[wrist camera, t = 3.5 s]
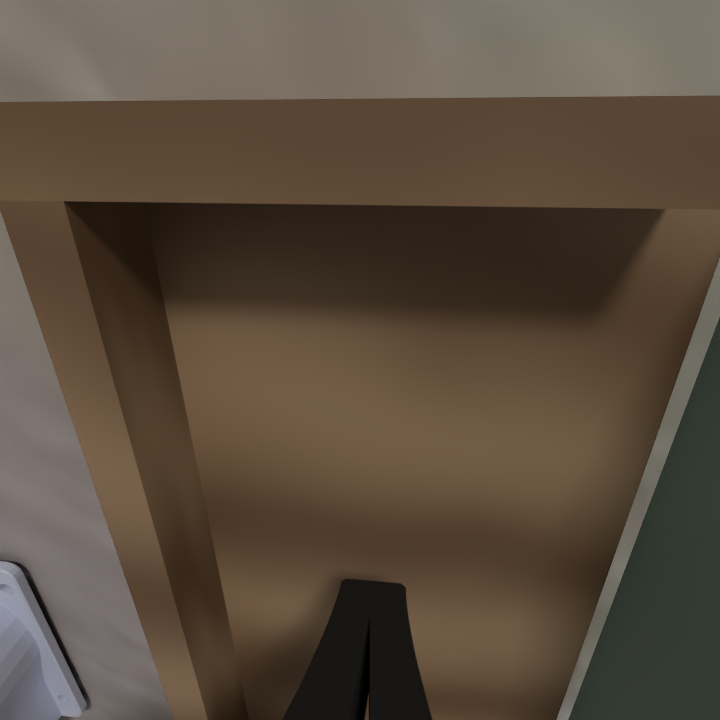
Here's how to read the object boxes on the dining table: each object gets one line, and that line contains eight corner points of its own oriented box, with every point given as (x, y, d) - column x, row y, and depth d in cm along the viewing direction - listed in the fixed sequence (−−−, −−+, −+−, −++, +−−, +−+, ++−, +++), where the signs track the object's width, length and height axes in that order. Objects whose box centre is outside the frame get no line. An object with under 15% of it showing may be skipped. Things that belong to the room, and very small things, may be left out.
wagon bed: (524, 708, 17) (552, 857, 14) (244, 677, 18) (204, 807, 15) (696, 111, 8) (907, 94, 5) (133, 115, 9) (-37, 102, 6)
